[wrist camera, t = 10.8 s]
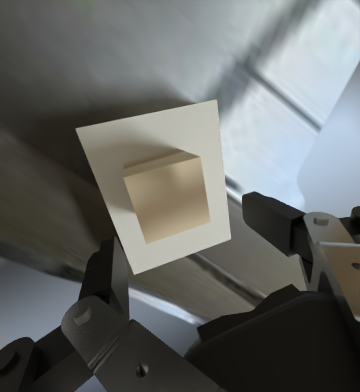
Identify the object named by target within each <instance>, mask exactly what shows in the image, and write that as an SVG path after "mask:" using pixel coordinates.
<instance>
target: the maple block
mask: <svg viewBox="0 0 360 392" xmlns="http://www.w3.org/2000/svg"><path fill="white" fill-rule="evenodd" d="M123 178H124V181H125V184H126V187H127V190H128V193H129V196H130V199H131V202H132V204H133V207H134V210H135V213H136V216H137V219H138V222H139V225H140V228H141V231H142V233H143V236H144V239H145V242H146V244H149V243H151V242H154V241H157V240H160V239H163V238H166V237H169V236H172V235H174V234H177V233H180V232H183V231H186V230H189V229H192V228H195V227H197V226H200V225H203V224H206V223H209V222H211V220H210V214H209V207H208V201H207V195H206V188H205V182H204V176H203V169H202V163H201V157H200V156H197V155H194V154H192V153H189V152H186V151H183V150H181V149H177V150H173V151H169V152H165V153H162V154H158V155H154V156H150V157H146V158H142V159H138V160H134V161H130V162H127V163H123Z"/></svg>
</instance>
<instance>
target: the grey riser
mask: <svg viewBox="0 0 360 392" xmlns="http://www.w3.org/2000/svg"><path fill="white" fill-rule="evenodd" d="M75 129H76V132H77V134H78V137H79V139H80V142H81V144H82V147H83V149H84V151H85V154H86V156H87V159H88V161H89V164H90V166H91V169H92V171H93V174H94V176H95V179H96V181H97V184H98V186H99V189H100V191H101V194H102V196H103V199H104V201H105V204H106V206H107V208H108V211H109V213H110V216H111V218H112V221H113V223H114V226H115V228H116V231H117V233H118V236H119V238H120V241H121V243H122V246H123V248H124V251H125V253H126V256H127V258H128V261H129V263H130V265H131V268H132V270H133V273H134V275H135V274H138V273H141V272H143V271H146V270H149V269H151V268H154V267H157V266H160V265H162V264H165V263H168V262H170V261H173V260H176V259H179V258H181V257H184V256H187V255H189V254H192V253H195V252H197V251H200V250H203V249H206V248H208V247H211V246H214V245H216V244H219V243H222V242H224V241H227V240H230V239H231V234H230V225H229V215H228V205H227V195H226V185H225V176H224V166H223V156H222V146H221V137H220V127H219V117H218V107H217V100H212V101H207V102H202V103H197V104H192V105H187V106H183V107H178V108H173V109H168V110H163V111H158V112H153V113H148V114H144V115H139V116H134V117H129V118H124V119H119V120H114V121H109V122H105V123H100V124H95V125H90V126H85V127H80V128H75ZM177 149H181V150H183V151H186V152H189V153H192V154H194V155H197V156H200V157H201V163H202V169H203V176H204V182H205V188H206V195H207V201H208V207H209V214H210V220H211V222H209V223H206V224H203V225H200V226H197V227H195V228H192V229H189V230H186V231H183V232H180V233H177V234H174V235H172V236H169V237H166V238H163V239H160V240H157V241H154V242H151V243H149V244H146V242H145V239H144V236H143V233H142V231H141V228H140V225H139V222H138V219H137V216H136V213H135V210H134V207H133V204H132V202H131V199H130V196H129V193H128V190H127V187H126V184H125V181H124V178H123V163H127V162H130V161H134V160H138V159H142V158H146V157H150V156H154V155H158V154H162V153H165V152H169V151H173V150H177Z"/></svg>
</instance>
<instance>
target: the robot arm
mask: <svg viewBox="0 0 360 392" xmlns="http://www.w3.org/2000/svg"><path fill="white" fill-rule="evenodd" d="M242 209H243V219H244V221H245V223H246V224H247V225H248V226H249V227H250V228H252V229H253V230H254V231H256V232H257V233H258V234H259V235H261V236H262V237H263V238H264V239H266V240H267V241H268V242H270V243H271V244H272V245H273V246H275V247H276V248H277V249H278V250H280V251H281V252H282V253H284V254H285V255H286V256H287V257H290V256H293V255H295V254H298V255H300V256H299V262H300V266H301V269H302V273H303V276H304V280H305V284H306V287H307V291H299V290H298V289H297V288H296V287H295V286H294V285H293V284H290V285H288V286H286V287H284V288H282V289H280V290H277V291H275V292H273V293H271V294H270V295H269V296H267V297H266V298H265V299H264V300H263V301H262V302H261V303H260V304H259V305H258V306H257V307H256V308H255V309H254V310H252V311H250V312H244V313H238V314H231V315H225V316H221V317H219V318H217V319H214V320H212V321H210V322H208V323H206V324H204V325H201V326H199V327H197V331H198V335H199V338H198V339H197V340H196V341H195V342H194V343H193V344H192V345H191V346H190V347H189V349H188V350H187V352H186V353H185V355H184V357H182V356H181V355H179V354H178V353H177V352H175V351H174V350H173V349H171V348H170V347H168V345H166V344H165V343H164V342H163V341H161V340H160V339H159V338H157V337H156V336H155V335H154V334H152V333H151V332H150V331H149V330H147V329H146V328H145V327H144V326H142V325H141V324H140V323H138V322H137V321H135V320H133V319H131V320H129V294H128V268H127V262H126V259H125V256H124V254H123V251H122V249H121V246H120V244H119V242H118V239H117V237H116V236H114V237H111V238H108V239H105V240H102V241H101V246H100V251H98V252H95V253H93V255H92V256H91V257H90V259H89V260H88V263H87V267H86V271H85V276H84V279H83V283H82V287H81V290H80V294H79V299H78V301H77V302H76V303H75V304H73V305H72V306H71V307H70V308H69V310H68V311H67V312H66V313H65V315H64V317H63V319H62V322H61V325H60V326H59V327H58V328H56V329H55V330H53V331H52V332H50V333H49V334H47V335H46V336H44V337H43V338H41V339H40V340H38V341H37V342H34V341H33V340H32V339H31V338H29V337H23V338H19V339H17V340H15V341H13V342H11V343H9V344H8V345H6V346H5V347H4V348H3V349H1V350H0V392H74V391H76V390H77V389H78V388H79V387H80V386H81V385H83V384H84V383H85V382H86V381H87V380H89V379H90V378H91V377H92V376H93V375H95V376H96V377H97V379H98V380H99V381H100V383H101V384H102V385H103V387H104V388H105V389H106V391H107V392H360V206H357V207H354V208H353V209H352V212H351V216H350V217H345V218H337V217H335V216H333V215H331V214H328V213H323V212H311V213H307V214H306V213H304V212H302V211H300V210H298V209H296V208H294V207H291V206H289V205H286V204H285V203H283V202H280V201H279V200H277V199H274V198H271V197H267V196H264V195H262V194H260V193H258V192H255V191H254V192H251V193H248V194H244V195H243V196H242Z"/></svg>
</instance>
